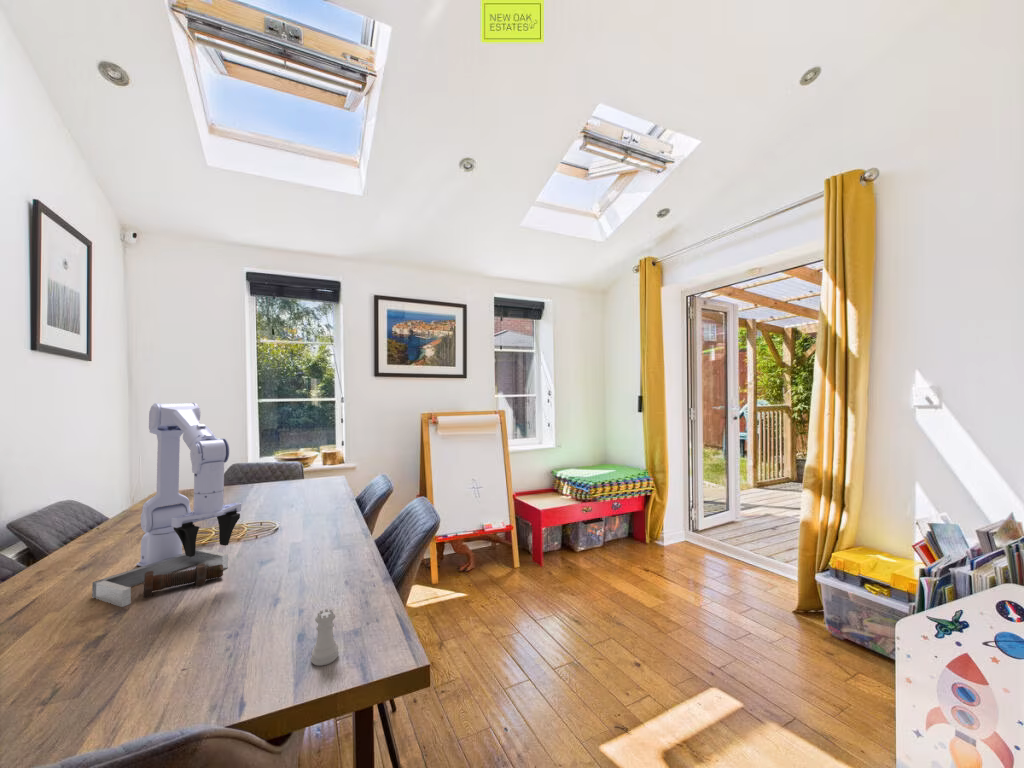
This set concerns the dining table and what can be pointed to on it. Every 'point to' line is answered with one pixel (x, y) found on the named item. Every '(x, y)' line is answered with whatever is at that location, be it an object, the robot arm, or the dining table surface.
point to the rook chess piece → (324, 640)
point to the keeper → (119, 585)
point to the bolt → (180, 578)
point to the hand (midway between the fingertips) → (207, 550)
